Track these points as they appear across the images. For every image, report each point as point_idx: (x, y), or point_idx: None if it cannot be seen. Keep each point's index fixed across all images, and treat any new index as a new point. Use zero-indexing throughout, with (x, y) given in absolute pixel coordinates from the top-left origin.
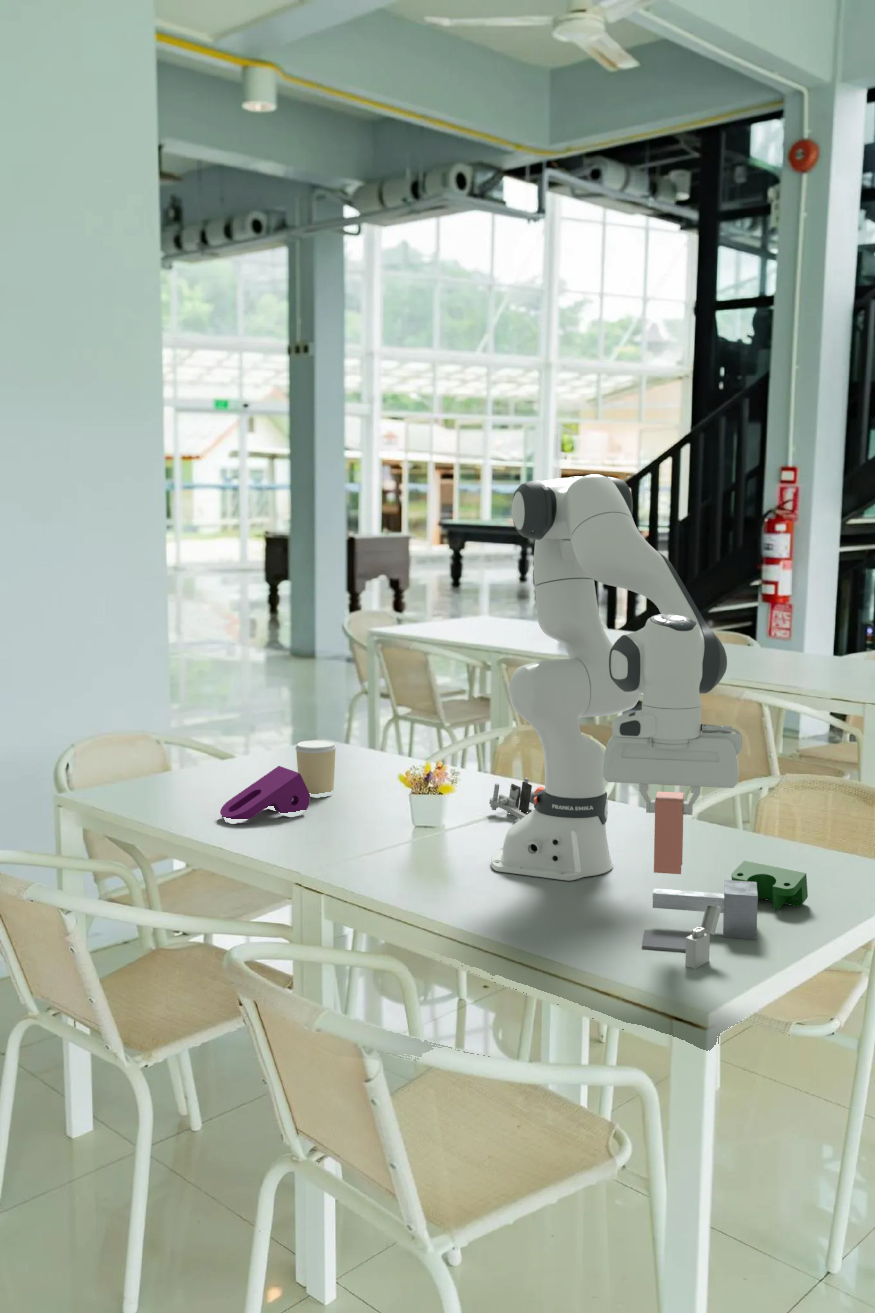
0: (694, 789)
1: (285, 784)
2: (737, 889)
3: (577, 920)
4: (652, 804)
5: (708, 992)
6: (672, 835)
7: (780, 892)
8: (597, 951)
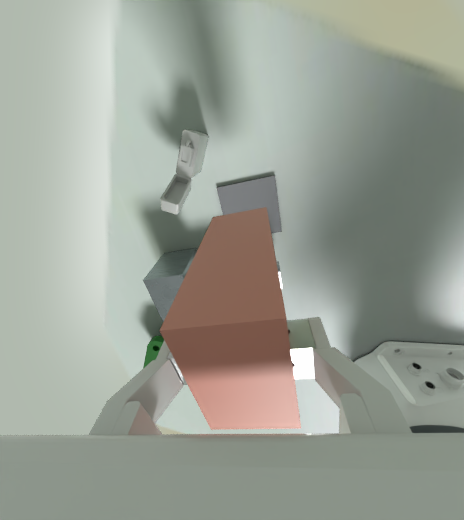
0: (119, 420)
1: None
2: (173, 294)
3: (370, 238)
4: (302, 340)
5: (149, 39)
6: (220, 251)
7: (162, 338)
8: (332, 136)
